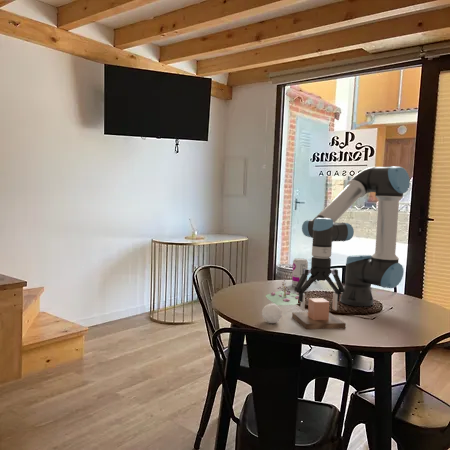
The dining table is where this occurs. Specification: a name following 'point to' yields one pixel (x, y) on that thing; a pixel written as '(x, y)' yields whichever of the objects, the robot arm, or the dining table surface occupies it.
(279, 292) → the plant
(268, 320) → the geometric ball
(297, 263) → the supplement can
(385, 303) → the dining table surface
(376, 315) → the dining table surface
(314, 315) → the salmon pink block
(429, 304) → the dining table surface
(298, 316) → the post stand
